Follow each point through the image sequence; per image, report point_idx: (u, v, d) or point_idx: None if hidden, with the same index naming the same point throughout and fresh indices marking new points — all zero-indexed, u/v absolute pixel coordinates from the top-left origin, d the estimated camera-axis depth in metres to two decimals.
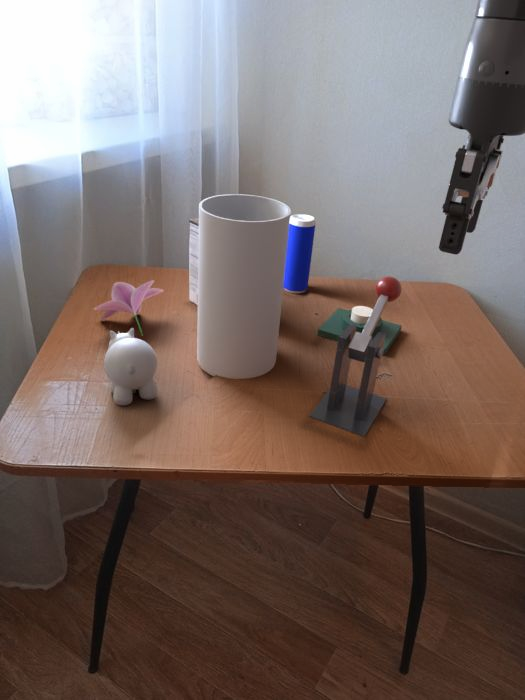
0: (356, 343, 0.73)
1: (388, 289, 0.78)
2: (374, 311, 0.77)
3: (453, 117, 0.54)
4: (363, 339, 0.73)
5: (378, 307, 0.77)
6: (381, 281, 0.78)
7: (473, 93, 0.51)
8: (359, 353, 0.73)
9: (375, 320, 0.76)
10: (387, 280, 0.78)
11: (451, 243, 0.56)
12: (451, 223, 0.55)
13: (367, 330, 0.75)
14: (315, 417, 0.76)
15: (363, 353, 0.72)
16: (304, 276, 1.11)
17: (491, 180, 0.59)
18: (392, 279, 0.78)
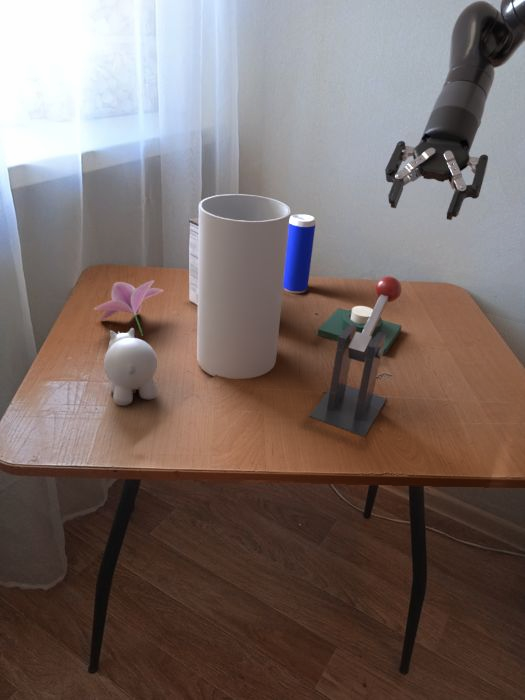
0: (356, 343, 0.73)
1: (388, 289, 0.78)
2: (374, 311, 0.77)
3: None
4: (363, 339, 0.73)
5: (378, 307, 0.77)
6: (381, 281, 0.78)
7: None
8: (359, 353, 0.73)
9: (375, 320, 0.76)
10: (387, 280, 0.78)
11: None
12: None
13: (367, 330, 0.75)
14: (315, 417, 0.76)
15: (363, 353, 0.72)
16: (304, 276, 1.11)
17: (451, 172, 0.83)
18: (392, 279, 0.78)
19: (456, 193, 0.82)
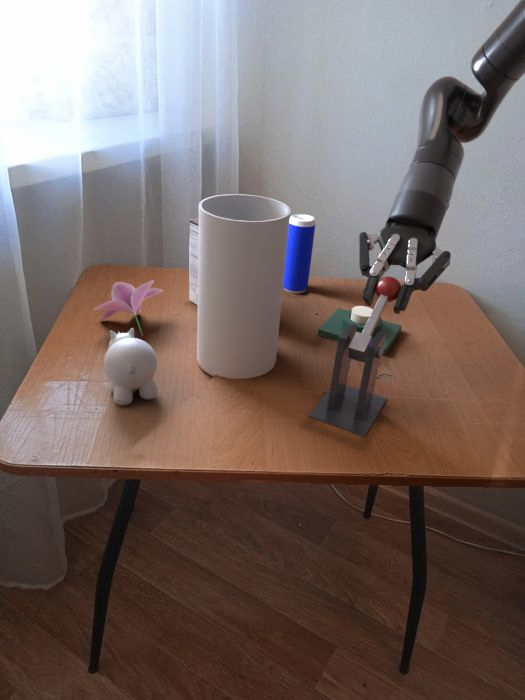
0: (356, 343, 0.73)
1: (388, 289, 0.78)
2: (374, 311, 0.77)
3: None
4: (363, 339, 0.73)
5: (378, 307, 0.77)
6: (381, 281, 0.78)
7: None
8: (359, 353, 0.73)
9: (375, 320, 0.76)
10: (387, 280, 0.78)
11: None
12: None
13: (367, 330, 0.75)
14: (315, 417, 0.76)
15: (363, 353, 0.72)
16: (304, 276, 1.11)
17: (407, 261, 0.78)
18: (392, 279, 0.78)
19: (403, 287, 0.78)
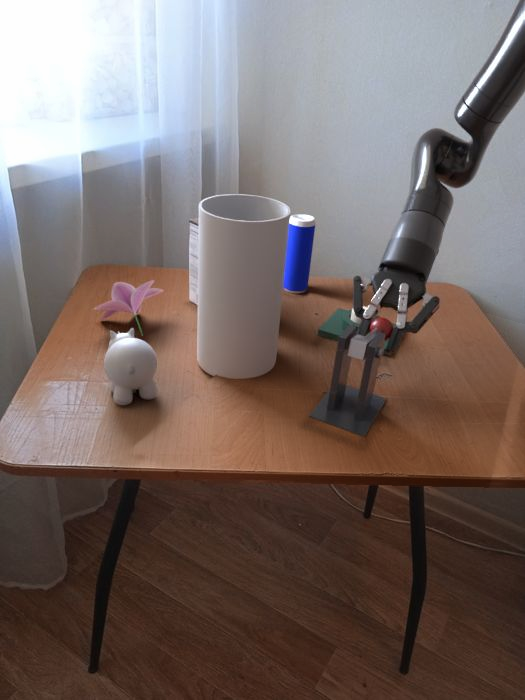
0: (358, 338, 0.73)
1: (383, 323, 0.82)
2: (371, 333, 0.79)
3: None
4: (365, 338, 0.74)
5: (375, 332, 0.80)
6: (376, 318, 0.83)
7: None
8: (361, 346, 0.72)
9: (373, 336, 0.78)
10: (382, 317, 0.83)
11: None
12: None
13: None
14: (315, 417, 0.76)
15: (365, 346, 0.72)
16: (304, 276, 1.11)
17: (398, 305, 0.82)
18: (386, 318, 0.83)
19: (395, 330, 0.82)
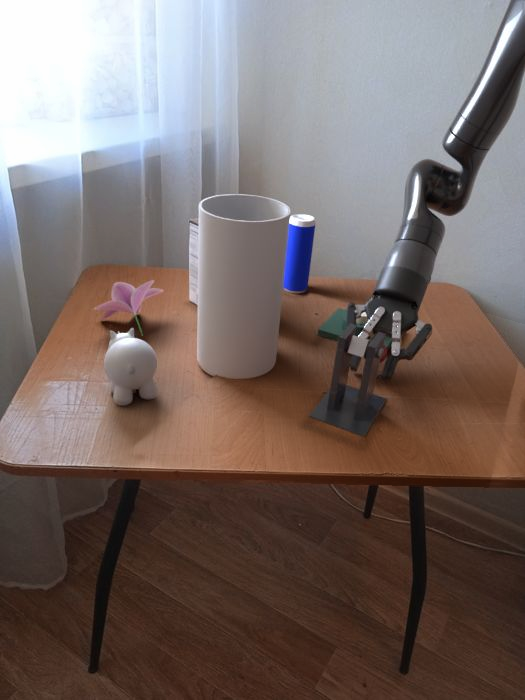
0: None
1: None
2: None
3: None
4: None
5: None
6: None
7: None
8: (362, 343, 0.73)
9: None
10: None
11: None
12: None
13: None
14: (315, 417, 0.76)
15: (367, 342, 0.72)
16: (304, 276, 1.11)
17: (392, 333, 0.84)
18: None
19: (390, 357, 0.84)
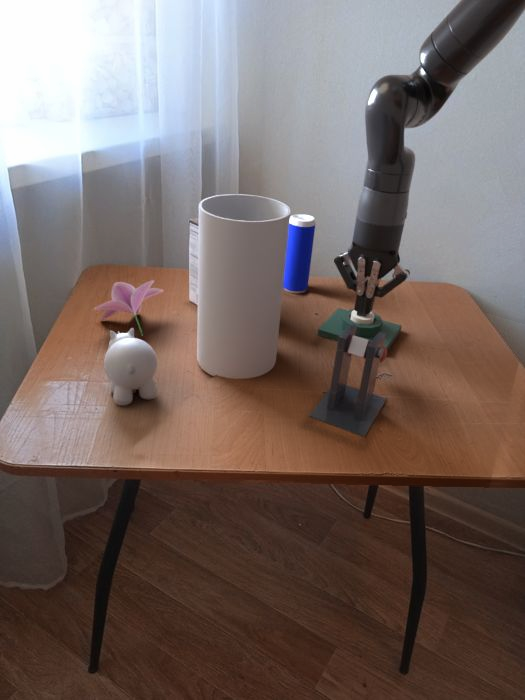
0: None
1: None
2: None
3: None
4: None
5: None
6: None
7: None
8: (362, 343, 0.73)
9: None
10: None
11: None
12: None
13: None
14: (315, 417, 0.76)
15: (367, 342, 0.72)
16: (304, 276, 1.11)
17: (369, 279, 0.91)
18: None
19: (365, 299, 0.94)
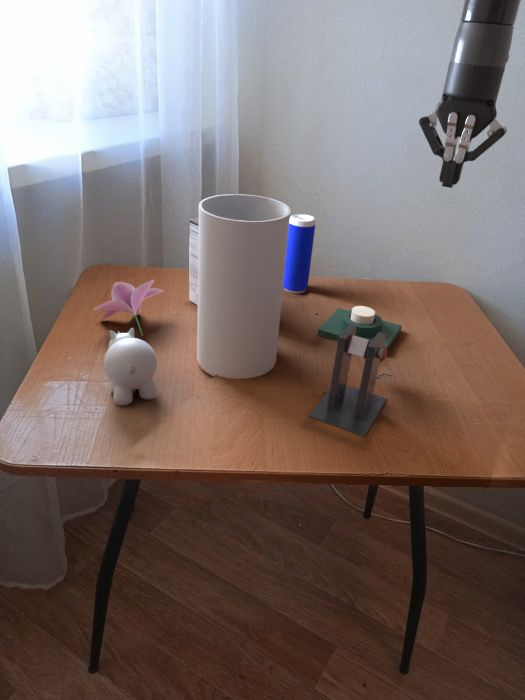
0: None
1: None
2: None
3: None
4: None
5: None
6: None
7: None
8: (362, 343, 0.73)
9: None
10: None
11: None
12: None
13: None
14: (315, 417, 0.76)
15: (367, 342, 0.72)
16: (304, 276, 1.11)
17: None
18: None
19: (454, 165, 0.84)
